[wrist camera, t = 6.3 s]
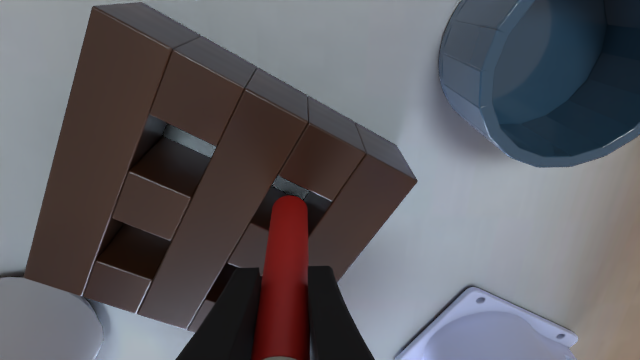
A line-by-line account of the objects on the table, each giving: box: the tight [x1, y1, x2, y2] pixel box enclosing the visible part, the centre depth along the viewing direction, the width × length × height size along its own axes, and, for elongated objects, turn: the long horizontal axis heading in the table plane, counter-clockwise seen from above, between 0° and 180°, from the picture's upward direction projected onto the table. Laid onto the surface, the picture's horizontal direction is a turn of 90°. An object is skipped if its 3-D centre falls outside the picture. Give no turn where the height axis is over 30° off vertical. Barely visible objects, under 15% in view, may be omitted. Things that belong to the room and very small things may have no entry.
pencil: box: [251, 195, 310, 360], centre depth 10 cm, size 1×1×8 cm
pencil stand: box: [24, 2, 417, 333], centre depth 16 cm, size 12×12×4 cm
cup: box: [439, 0, 640, 167], centre depth 13 cm, size 7×7×4 cm
